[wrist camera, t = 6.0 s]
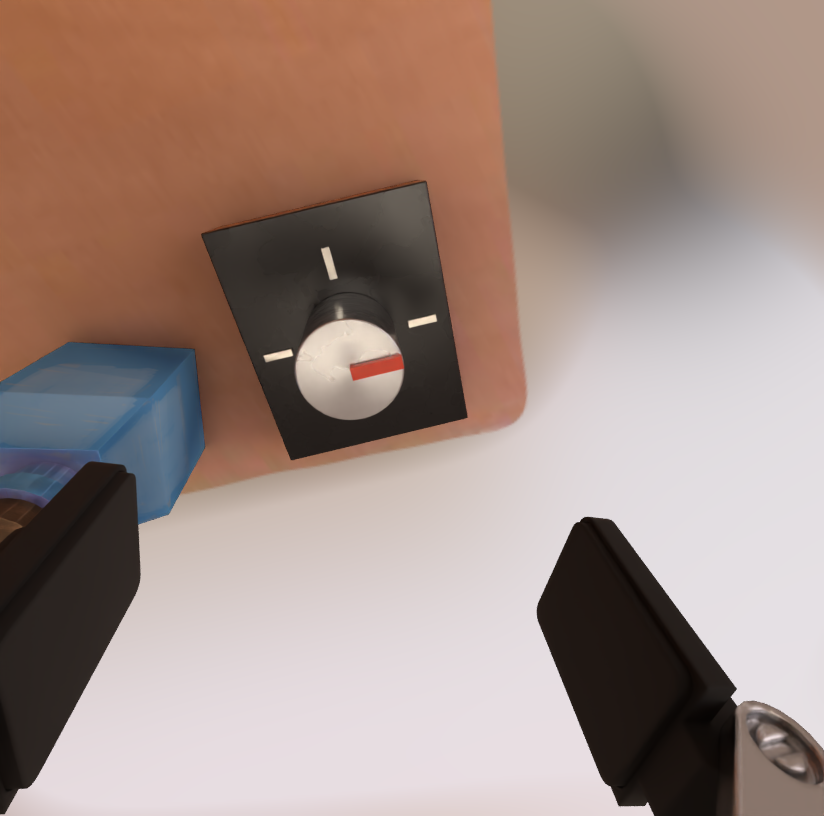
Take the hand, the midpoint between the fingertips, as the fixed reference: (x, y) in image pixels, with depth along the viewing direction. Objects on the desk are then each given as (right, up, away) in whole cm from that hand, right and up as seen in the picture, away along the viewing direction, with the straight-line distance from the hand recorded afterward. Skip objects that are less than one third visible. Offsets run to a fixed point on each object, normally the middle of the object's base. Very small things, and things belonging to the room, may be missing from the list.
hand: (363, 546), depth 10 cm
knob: (-2, +6, +13) cm, 14 cm away
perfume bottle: (-14, +4, +16) cm, 22 cm away
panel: (-2, +8, +15) cm, 17 cm away
